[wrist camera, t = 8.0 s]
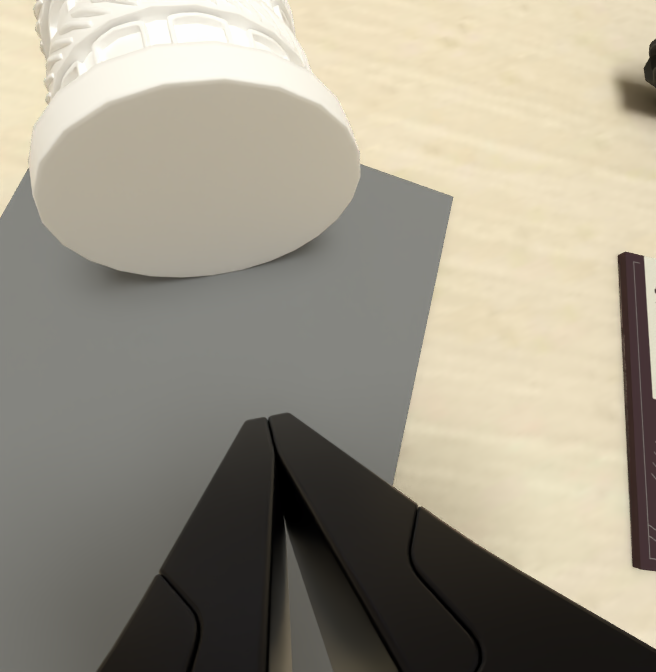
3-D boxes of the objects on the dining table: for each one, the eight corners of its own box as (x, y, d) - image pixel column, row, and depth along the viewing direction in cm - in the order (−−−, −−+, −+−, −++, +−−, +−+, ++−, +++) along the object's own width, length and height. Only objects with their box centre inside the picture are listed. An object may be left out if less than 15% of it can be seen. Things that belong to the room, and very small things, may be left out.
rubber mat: (333, 754, 17) (334, 759, 17) (-229, 635, 15) (-239, 639, 15) (451, 199, 25) (453, 196, 25) (87, 71, 23) (85, 67, 23)
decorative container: (416, 84, 13) (273, -270, 17) (-56, 69, 9) (-91, -392, 13) (317, 261, 23) (245, 18, 27) (86, 292, 19) (41, 1, 23)
